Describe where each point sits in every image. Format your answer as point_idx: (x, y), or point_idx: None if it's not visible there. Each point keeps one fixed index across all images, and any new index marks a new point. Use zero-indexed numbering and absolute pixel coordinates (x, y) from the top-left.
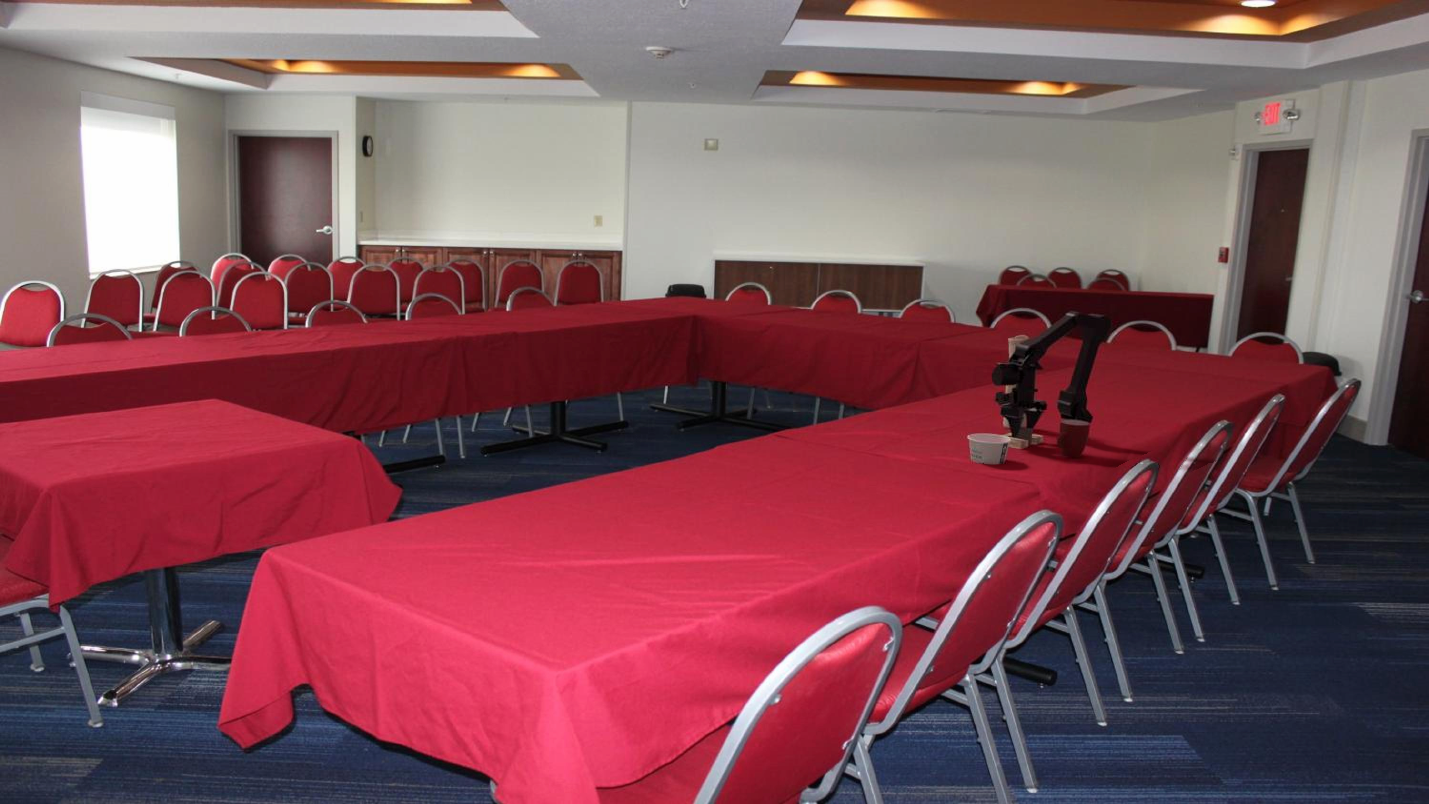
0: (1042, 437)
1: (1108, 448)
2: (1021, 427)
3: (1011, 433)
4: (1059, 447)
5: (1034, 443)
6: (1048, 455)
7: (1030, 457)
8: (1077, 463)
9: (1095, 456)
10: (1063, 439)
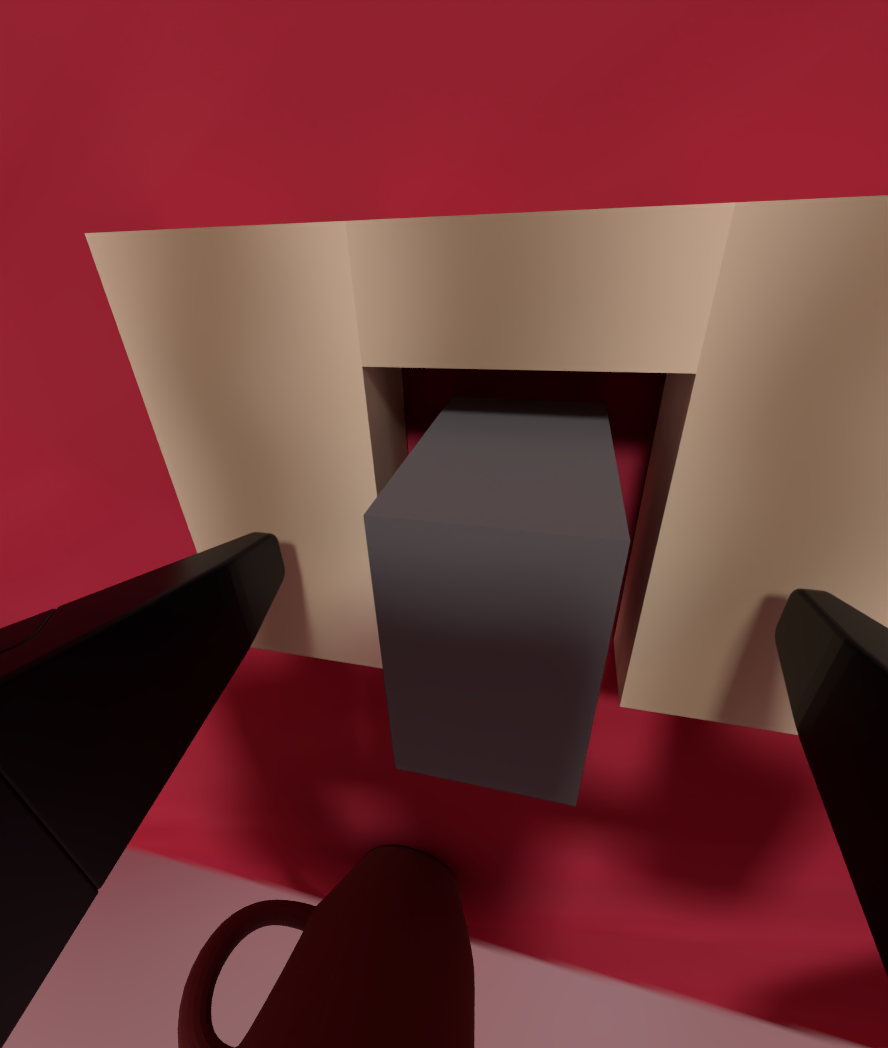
0: None
1: (883, 1021)
2: (523, 658)
3: (198, 555)
4: (246, 908)
5: (614, 637)
6: (299, 778)
7: None
8: (283, 883)
9: (526, 946)
10: (269, 994)
